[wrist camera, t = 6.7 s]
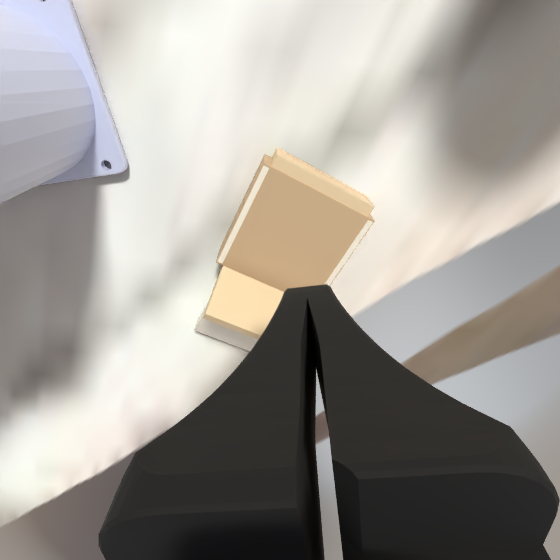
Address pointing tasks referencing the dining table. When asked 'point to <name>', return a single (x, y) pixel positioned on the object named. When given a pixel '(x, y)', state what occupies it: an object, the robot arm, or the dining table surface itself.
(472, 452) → the robot arm
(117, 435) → the dining table surface
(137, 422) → the dining table surface
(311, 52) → the dining table surface
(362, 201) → the carton
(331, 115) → the dining table surface
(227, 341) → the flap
